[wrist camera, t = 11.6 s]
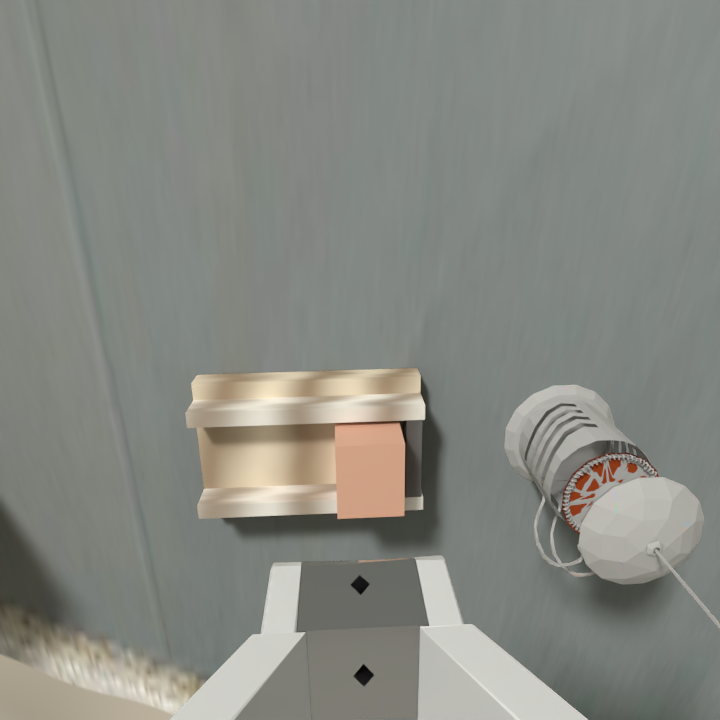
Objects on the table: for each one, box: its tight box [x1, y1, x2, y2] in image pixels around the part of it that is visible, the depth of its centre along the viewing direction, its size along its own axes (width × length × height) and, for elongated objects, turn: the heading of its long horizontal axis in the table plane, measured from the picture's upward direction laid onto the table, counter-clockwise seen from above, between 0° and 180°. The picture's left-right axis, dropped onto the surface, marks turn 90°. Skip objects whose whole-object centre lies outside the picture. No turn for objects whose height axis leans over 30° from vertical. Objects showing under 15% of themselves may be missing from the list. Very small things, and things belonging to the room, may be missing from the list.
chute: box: [185, 368, 425, 519], centre depth 46 cm, size 18×12×4 cm, turn 91°
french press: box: [504, 385, 720, 629], centre depth 37 cm, size 10×12×25 cm
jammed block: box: [335, 421, 405, 519], centre depth 43 cm, size 5×6×6 cm
